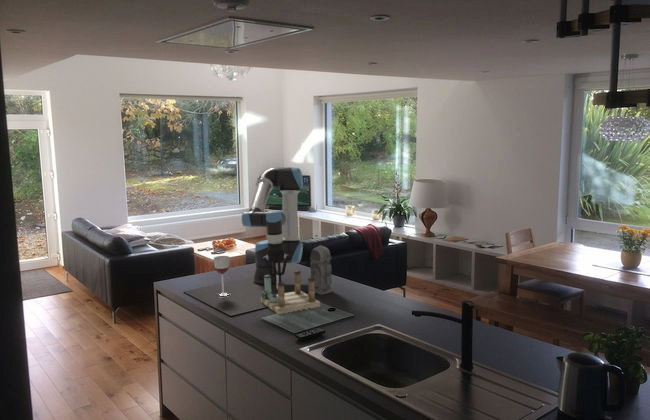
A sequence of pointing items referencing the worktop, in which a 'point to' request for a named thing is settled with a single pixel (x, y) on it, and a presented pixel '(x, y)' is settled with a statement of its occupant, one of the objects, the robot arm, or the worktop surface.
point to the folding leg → (269, 289)
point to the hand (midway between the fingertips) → (278, 288)
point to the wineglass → (221, 268)
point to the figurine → (321, 269)
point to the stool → (292, 297)
